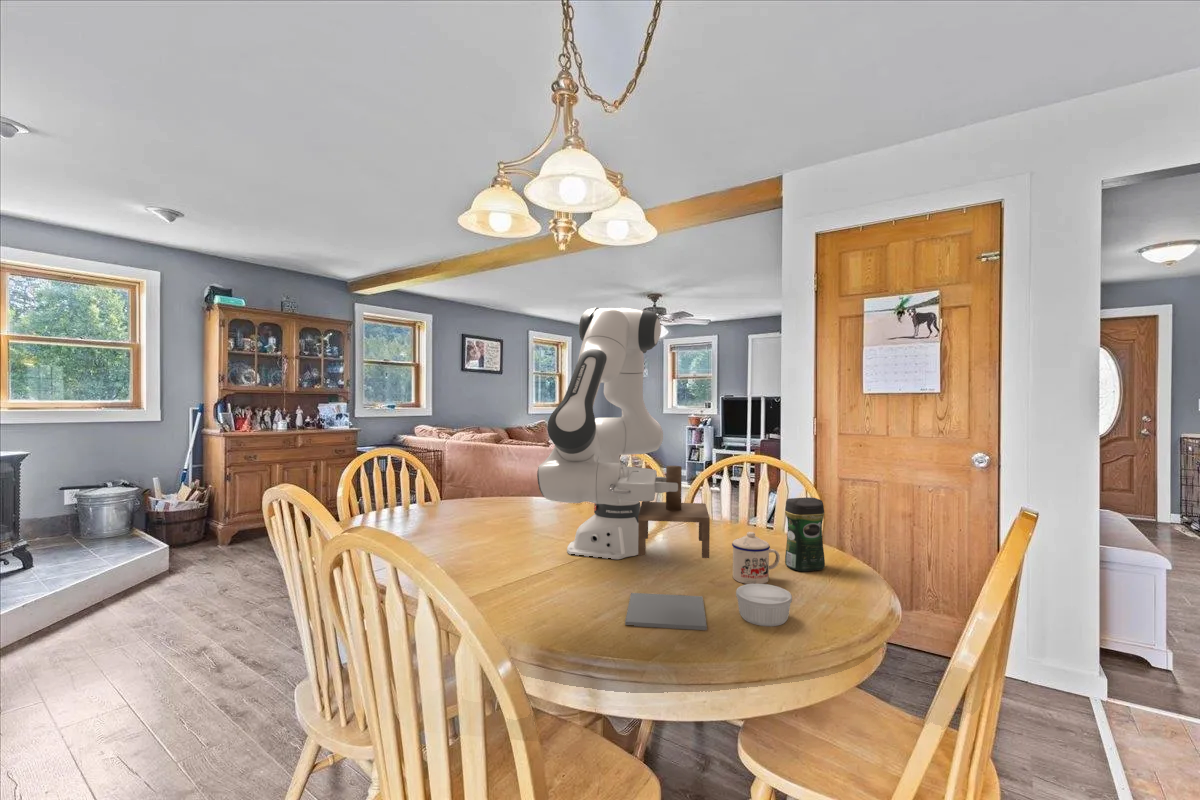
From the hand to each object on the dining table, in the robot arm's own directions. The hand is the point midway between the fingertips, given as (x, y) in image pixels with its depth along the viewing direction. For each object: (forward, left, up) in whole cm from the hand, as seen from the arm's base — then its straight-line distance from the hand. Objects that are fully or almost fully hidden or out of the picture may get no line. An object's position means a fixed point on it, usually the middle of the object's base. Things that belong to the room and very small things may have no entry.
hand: (677, 484), depth 117 cm
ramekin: (+18, 0, -27) cm, 33 cm away
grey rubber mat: (-2, 0, -27) cm, 27 cm away
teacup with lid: (+20, +24, -27) cm, 41 cm away
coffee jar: (+34, +35, -27) cm, 56 cm away
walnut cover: (-1, 0, -13) cm, 13 cm away
